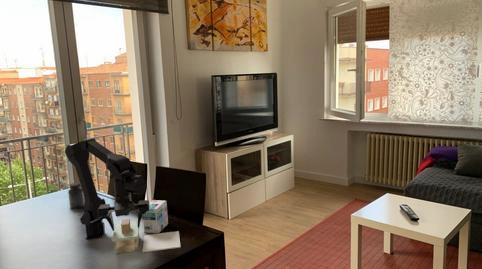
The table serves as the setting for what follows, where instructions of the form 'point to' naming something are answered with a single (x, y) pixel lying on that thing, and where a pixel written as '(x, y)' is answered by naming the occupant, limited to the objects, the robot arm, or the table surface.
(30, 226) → the table surface
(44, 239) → the table surface
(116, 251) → the crate
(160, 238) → the felt mat
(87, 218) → the robot arm
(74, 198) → the supplement bottle
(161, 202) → the light bulb box
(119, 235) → the lid
